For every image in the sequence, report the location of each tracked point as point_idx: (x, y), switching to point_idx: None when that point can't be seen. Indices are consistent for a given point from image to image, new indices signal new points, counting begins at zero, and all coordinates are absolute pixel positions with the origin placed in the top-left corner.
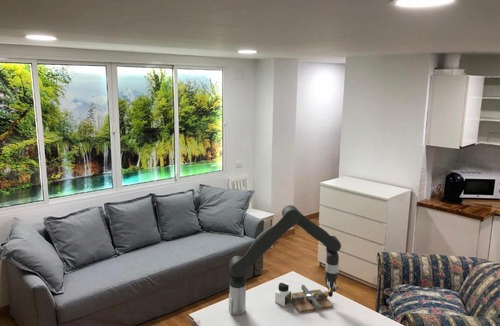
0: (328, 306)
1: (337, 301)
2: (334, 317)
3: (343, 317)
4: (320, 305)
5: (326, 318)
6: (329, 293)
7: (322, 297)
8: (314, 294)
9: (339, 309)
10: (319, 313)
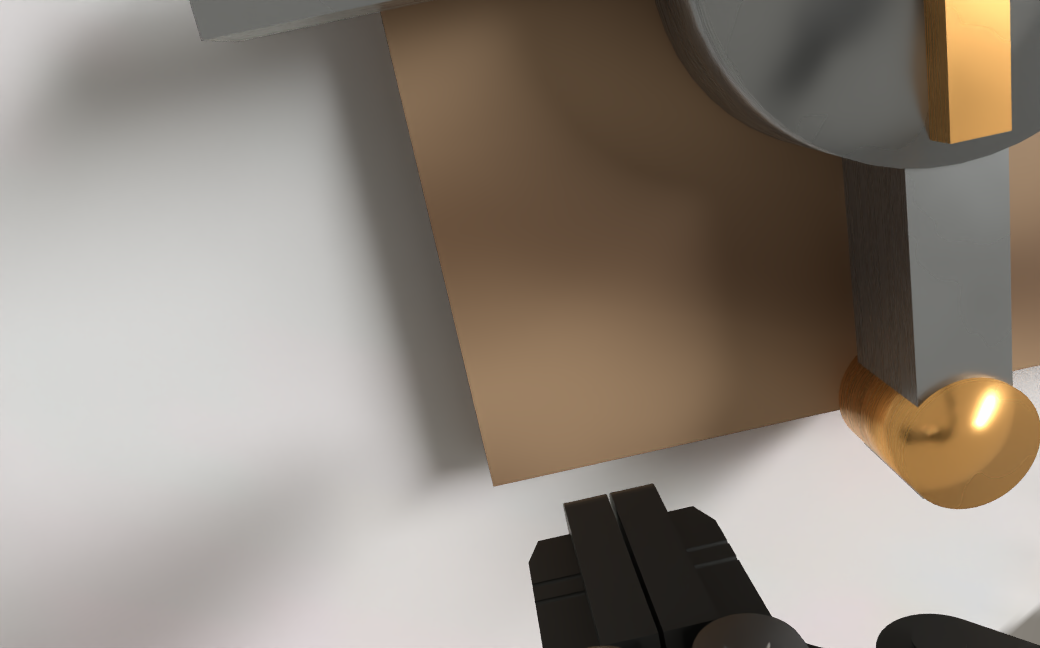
0: (463, 353)
1: None
2: (77, 394)
3: (100, 591)
4: (500, 134)
5: (5, 179)
6: (586, 584)
7: None
8: (923, 2)
9: (417, 575)
10: None
